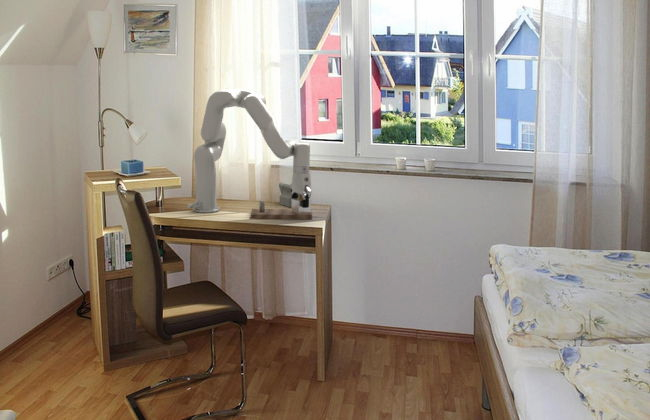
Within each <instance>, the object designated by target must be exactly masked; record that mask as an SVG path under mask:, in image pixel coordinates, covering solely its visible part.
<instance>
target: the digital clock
mask: <svg viewBox="0 0 650 420" xmlns="http://www.w3.org/2000/svg"><path fill="white" fill-rule="evenodd" d="M290 184H291V183H286V182H281V181H280V182H279V183H278V187H279V191H280V195H279V205H282V206H284V205H285V206H284V207H287V206H288V208H292V195H291V188H290ZM297 195H298V197H299V195H301V194H297Z"/></svg>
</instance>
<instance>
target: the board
mask: <svg viewBox="0 0 650 420" xmlns="http://www.w3.org/2000/svg"><path fill="white" fill-rule="evenodd" d="M298 200H303V196H302V195H299V197H298ZM250 212H251V213H250V219H251V218H253V219H254V218H255V219H256V220H262V219H263V220H274V219H275V220H312V219H313V212H312V209H311V208H310V213H303V214H297V213H295V212H292V208H266V201H265V200H259V208H251V211H250ZM253 219H252V220H253Z"/></svg>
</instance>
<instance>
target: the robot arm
mask: <svg viewBox="0 0 650 420" xmlns="http://www.w3.org/2000/svg"><path fill="white" fill-rule="evenodd" d="M266 102H267V101H266V98H265V96H264V95H263V94H262V93H260V92H256V91H255V92H254V91H251V90H250V91H249V90H246V89H242V88H237V87H231V88H225V89H220V90H217V91H215V92H213V93H212V94H211V95H210V96H209V98H208V99H207V102H206V107H205V111H204V115H203V120H202V125H201V129H200V136H201V138H202V140H203V141H204V143H203V144H201V145H199V146H197V147H196V149H195V151H194V154H193V161H194V166H195V167H194V168H195V196H196V197H195V200H194V201H193V203H188V204H187V205H186V206H187V209H192V210H193V211H194V212H196V213H201V214H202V213H203V214H204V213H205V214H207V213H217V212H219V211H220V210H221V207H220V206H218V205H217V169H216V161H218V160H219V159H220V158H221V157H222V153H223V149H224V145H225V140H226V136H227V128H226V125H225V124H224V122H223V119H224V111H225V109H227V108H233V107H237V108H242V109H245V110H246V112H247V113H248V115H249V116H250V118H251V119H252V121H254V123H255V124H256V126H257V127H258V129H259V130H260V133H261V135H262V137H263V140H264V142H265V143H266V145H267V147H269V149H270V151H271V152H272V153H273V155H275V156H276V158H278V159H280V160H285V159H287V158H289V157H293V159H292V161H293V162H292V178H291V179H292V180H291V183H289V184H290V188H291V195H292V199H294V198H298V195H297V194H301V195H302V196H303V201H302V207H303V208H308V207H309V200H311V194H312V190H311V188H312V187H311V174H310V162H311V161H310V160H311V158H310V157H311V145H310V143H309V142H304V141H299V142H298V141H292V140H284V139H283V137H282V136H281V134H280V133H279V131H278V128H277V121H276V118H275V116H274V115H273V113H272V112H271V111H270V109H269V108H268V107H267V106H266V104H267V103H266Z"/></svg>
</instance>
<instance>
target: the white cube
mask: <svg viewBox="0 0 650 420" xmlns="http://www.w3.org/2000/svg"><path fill="white" fill-rule="evenodd" d="M302 201H303V200H298V198H294V199H292V207H291V209H292V212H295V213H297V214H303V213H310V209H311V206H312V205H311V203H312V202H311V199H309V207H308V208H303V207H302Z"/></svg>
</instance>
